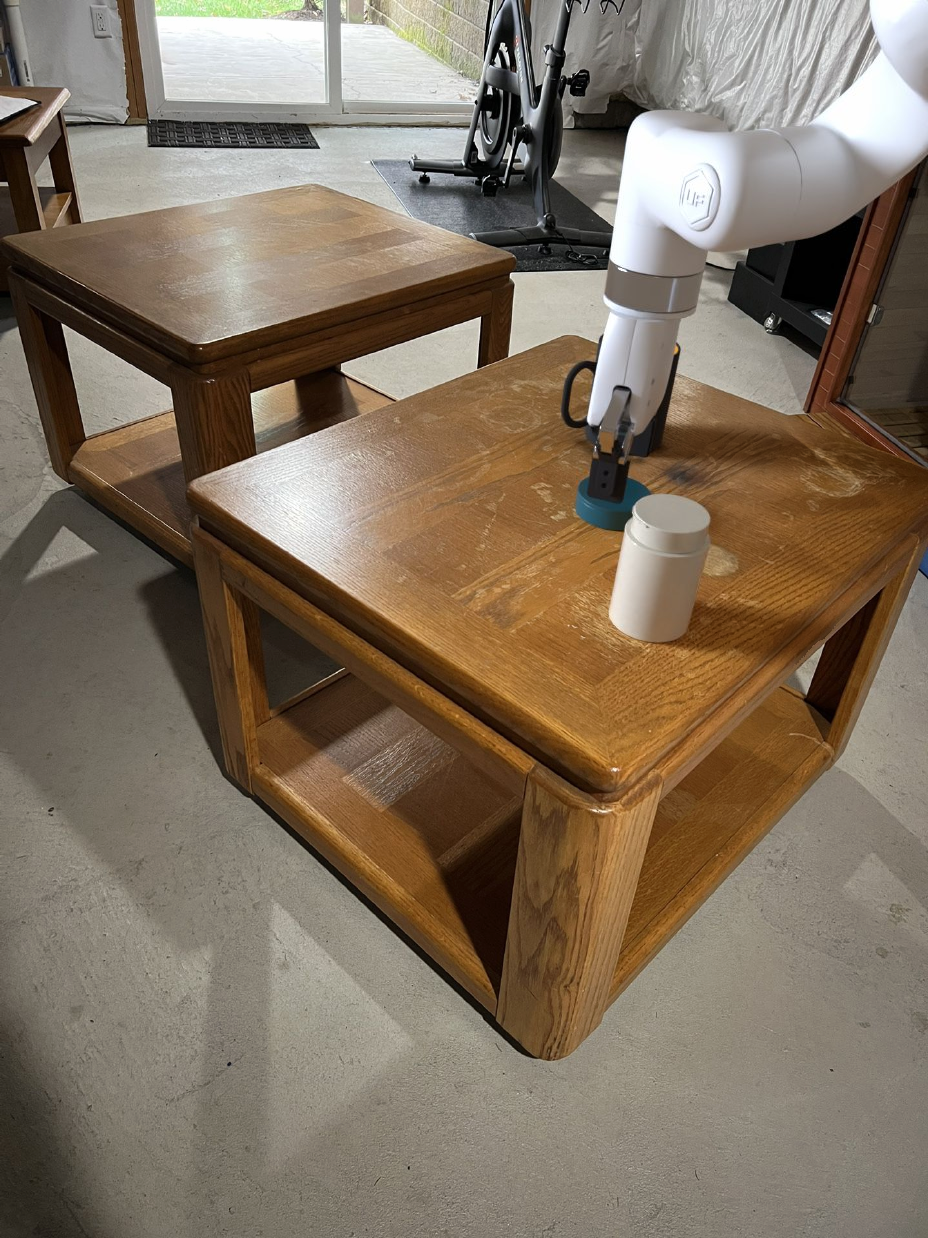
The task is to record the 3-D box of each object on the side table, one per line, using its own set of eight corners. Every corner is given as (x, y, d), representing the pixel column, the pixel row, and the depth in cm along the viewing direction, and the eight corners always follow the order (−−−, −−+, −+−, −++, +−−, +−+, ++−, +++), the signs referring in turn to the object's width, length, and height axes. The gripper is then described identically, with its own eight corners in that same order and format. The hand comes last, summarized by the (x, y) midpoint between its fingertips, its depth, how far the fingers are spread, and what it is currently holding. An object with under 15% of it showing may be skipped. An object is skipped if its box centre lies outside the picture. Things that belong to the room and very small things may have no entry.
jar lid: (562, 516, 86) (565, 496, 85) (589, 485, 91) (593, 466, 90) (633, 538, 84) (637, 518, 83) (657, 506, 89) (661, 486, 88)
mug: (541, 426, 101) (552, 333, 95) (639, 416, 105) (656, 325, 98) (572, 462, 95) (587, 365, 89) (675, 450, 99) (696, 356, 92)
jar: (651, 586, 78) (675, 483, 72) (705, 628, 74) (734, 522, 68) (592, 607, 75) (611, 502, 69) (644, 652, 71) (669, 544, 65)
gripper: (633, 252, 83) (605, 429, 93) (576, 308, 70) (550, 508, 80) (718, 266, 80) (679, 446, 91) (675, 327, 67) (635, 529, 78)
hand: (619, 475), depth 85 cm, fingers open, 9 cm apart
